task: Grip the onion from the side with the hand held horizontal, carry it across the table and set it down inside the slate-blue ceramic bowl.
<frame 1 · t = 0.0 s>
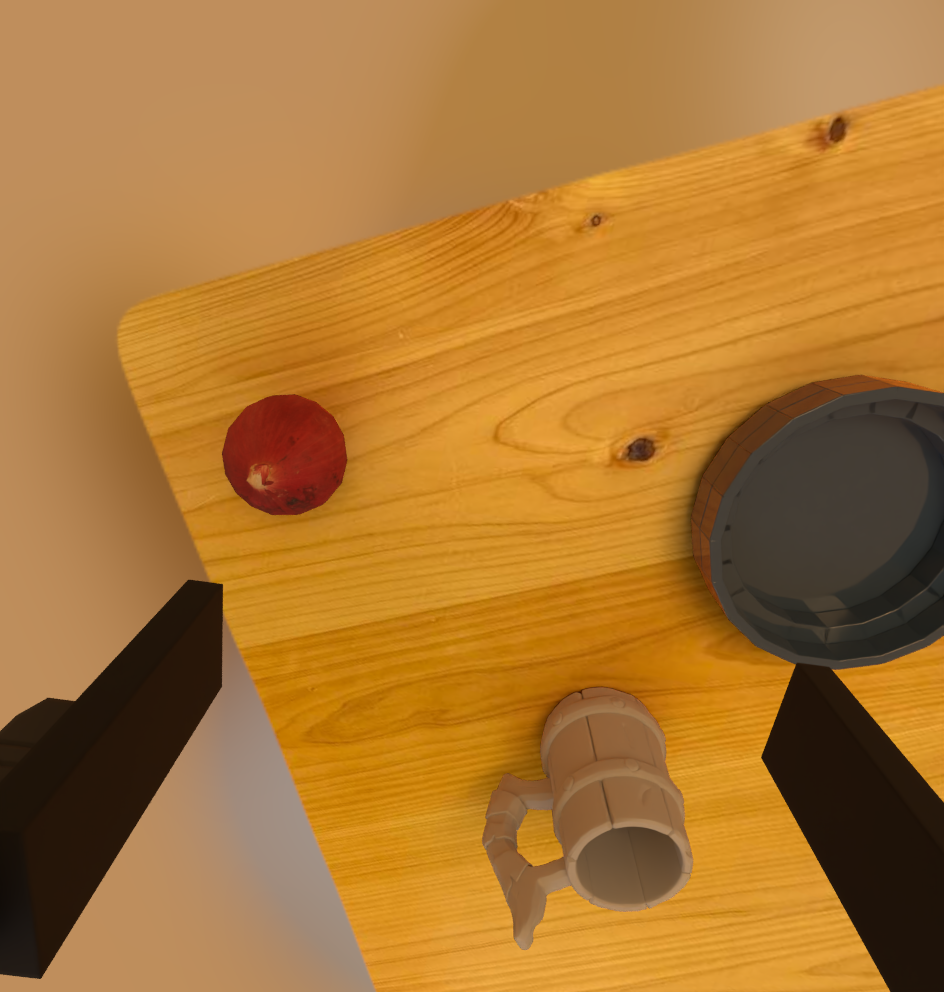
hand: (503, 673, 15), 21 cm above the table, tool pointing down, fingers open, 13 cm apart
mug: (568, 740, 42), on the table
onion: (307, 435, 35), on the table
bowl: (825, 510, 36), on the table
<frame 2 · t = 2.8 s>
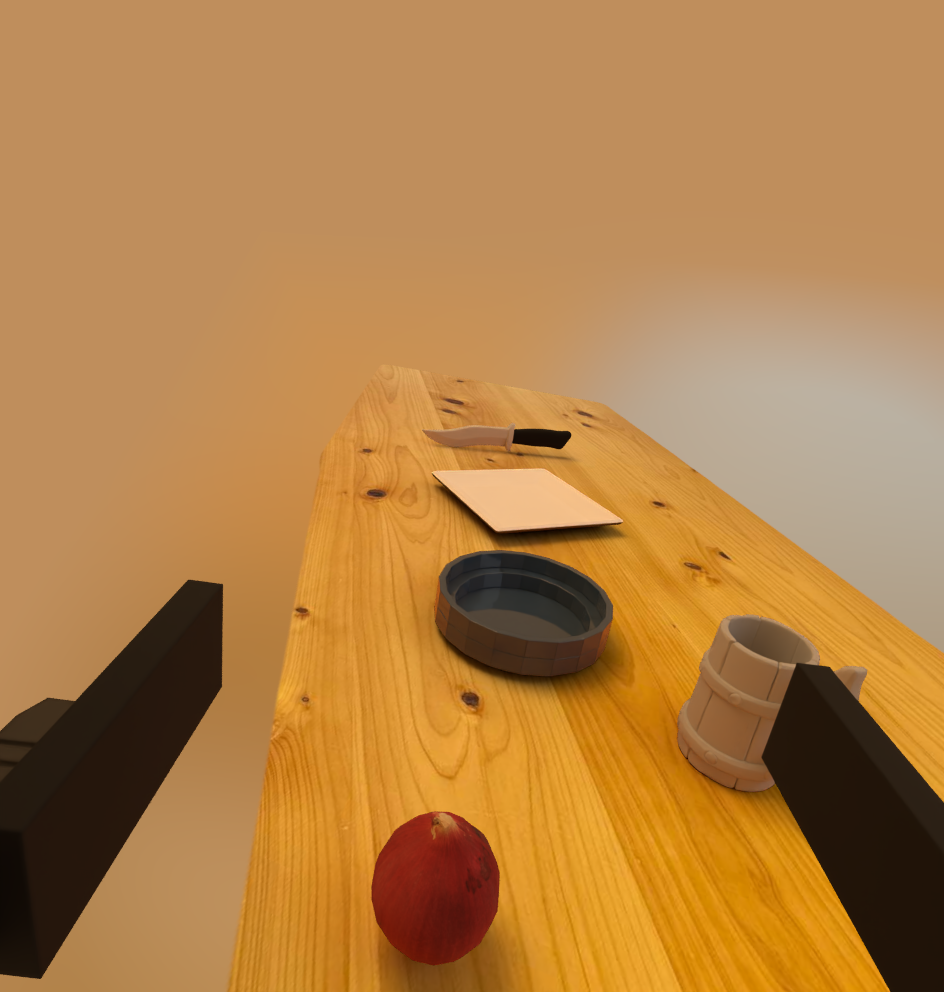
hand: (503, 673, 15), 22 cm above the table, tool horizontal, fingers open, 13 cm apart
plate: (521, 510, 85), on the table
mug: (745, 777, 45), on the table
onion: (425, 942, 31), on the table
bowl: (517, 629, 58), on the table
knife: (494, 452, 107), on the table
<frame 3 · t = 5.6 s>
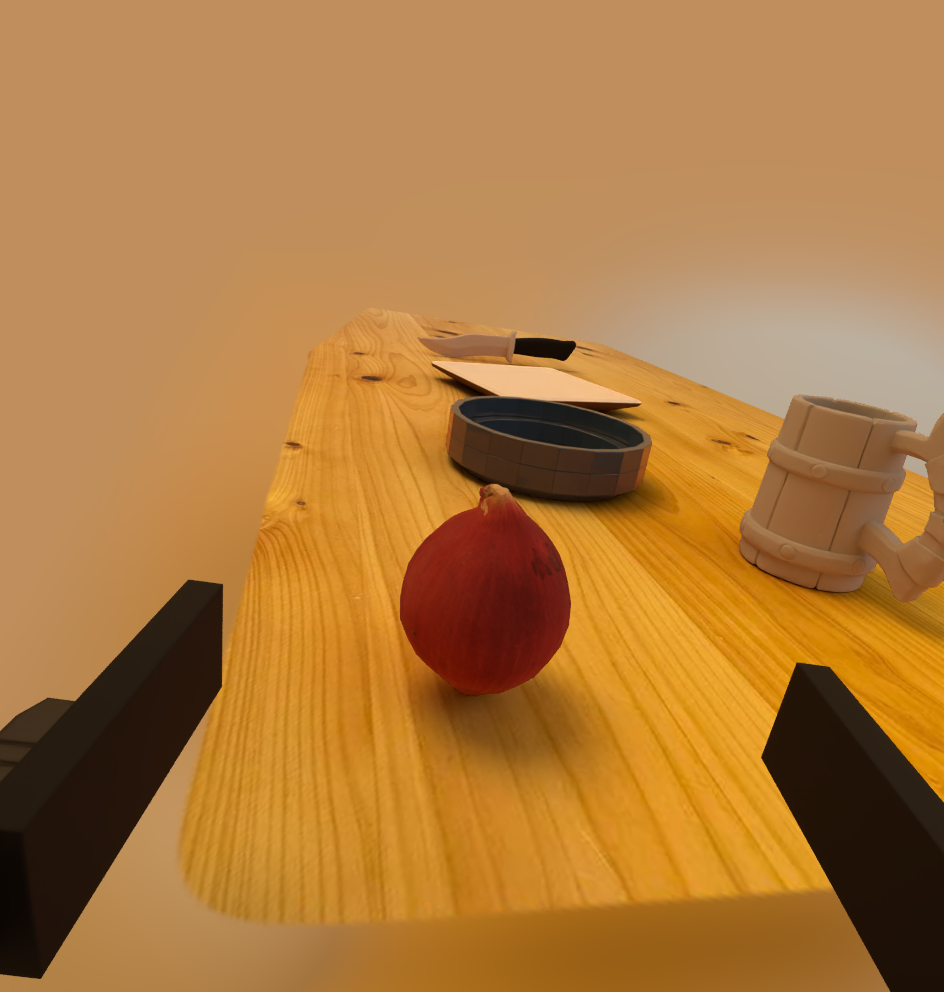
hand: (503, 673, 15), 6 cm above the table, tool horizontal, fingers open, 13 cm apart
plate: (529, 398, 78), on the table
mug: (824, 583, 38), on the table
onion: (469, 694, 24), on the table
bowl: (541, 469, 51), on the table
knife: (495, 363, 101), on the table
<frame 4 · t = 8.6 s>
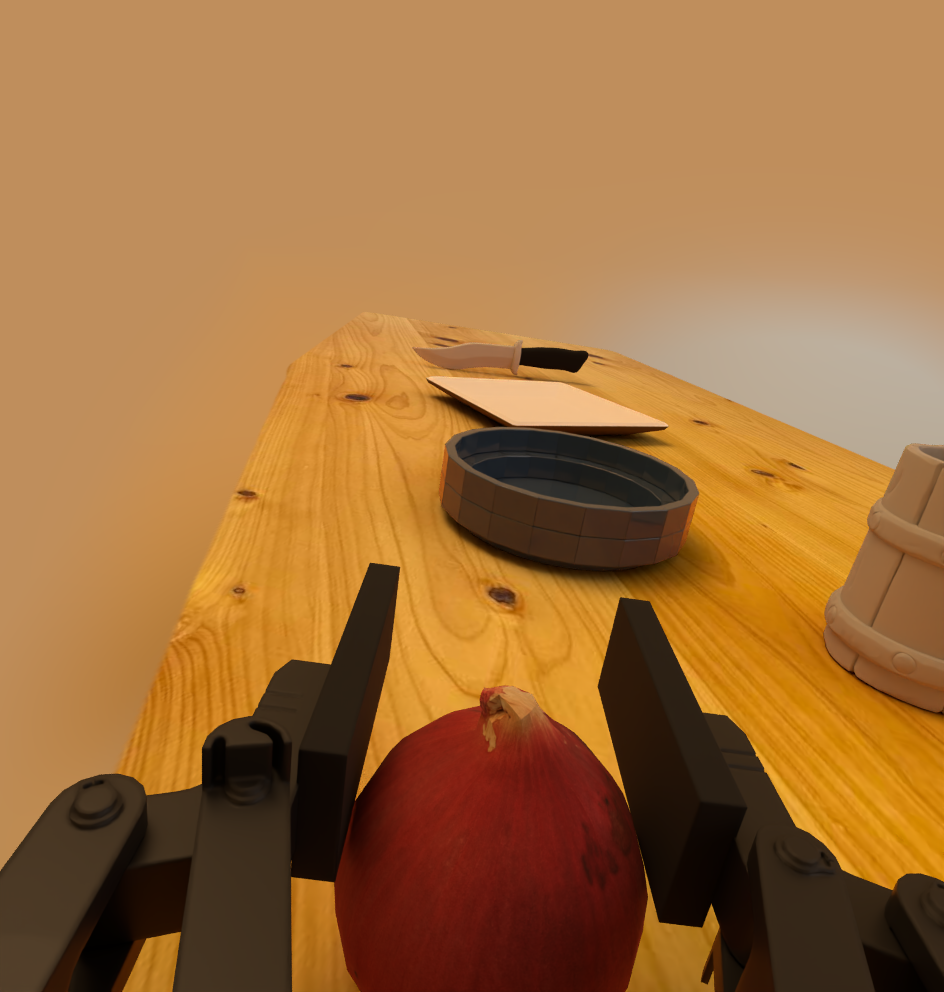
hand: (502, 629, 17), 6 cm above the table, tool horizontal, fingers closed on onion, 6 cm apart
plate: (538, 419, 68), on the table
bowl: (557, 522, 41), on the table
knife: (498, 375, 91), on the table
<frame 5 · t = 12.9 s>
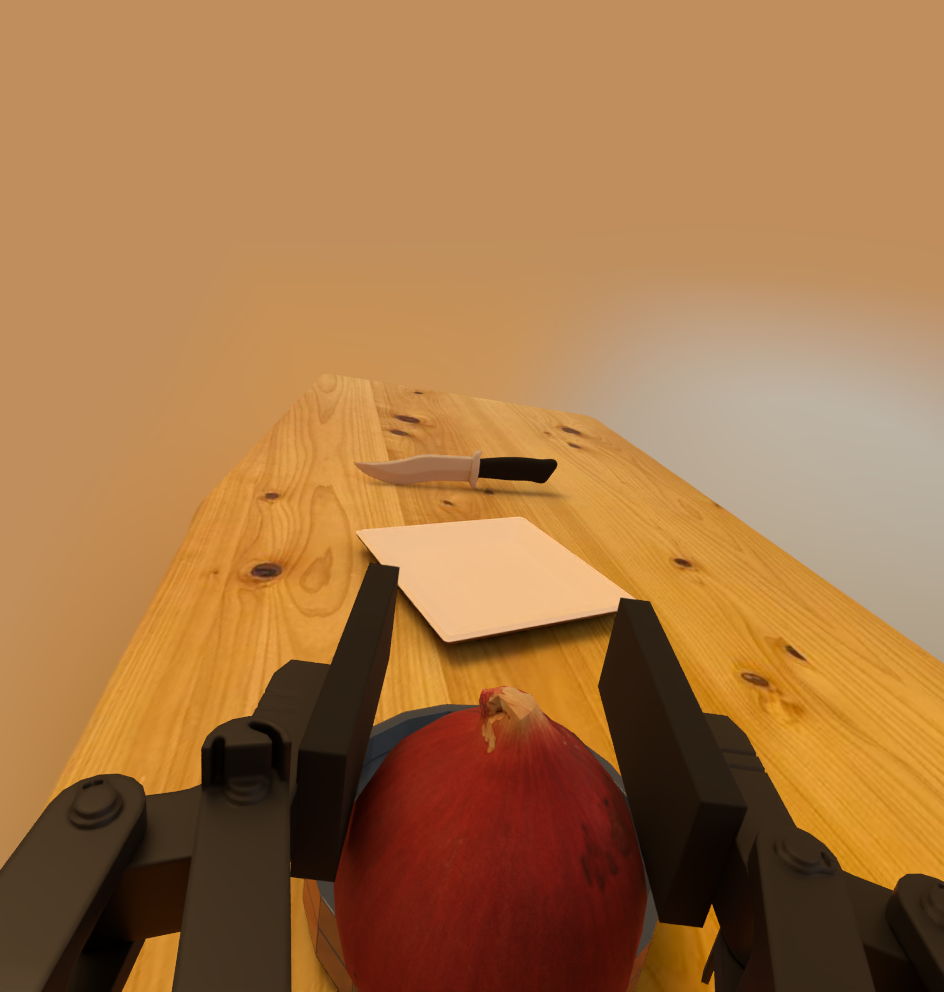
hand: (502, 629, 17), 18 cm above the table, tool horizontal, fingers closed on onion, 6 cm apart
plate: (488, 586, 57), on the table
bowl: (474, 884, 30), on the table
knife: (454, 489, 80), on the table
when the fingers open (7 cm above the table, at t = 17.4 s): onion stays where it is, resting on bowl.
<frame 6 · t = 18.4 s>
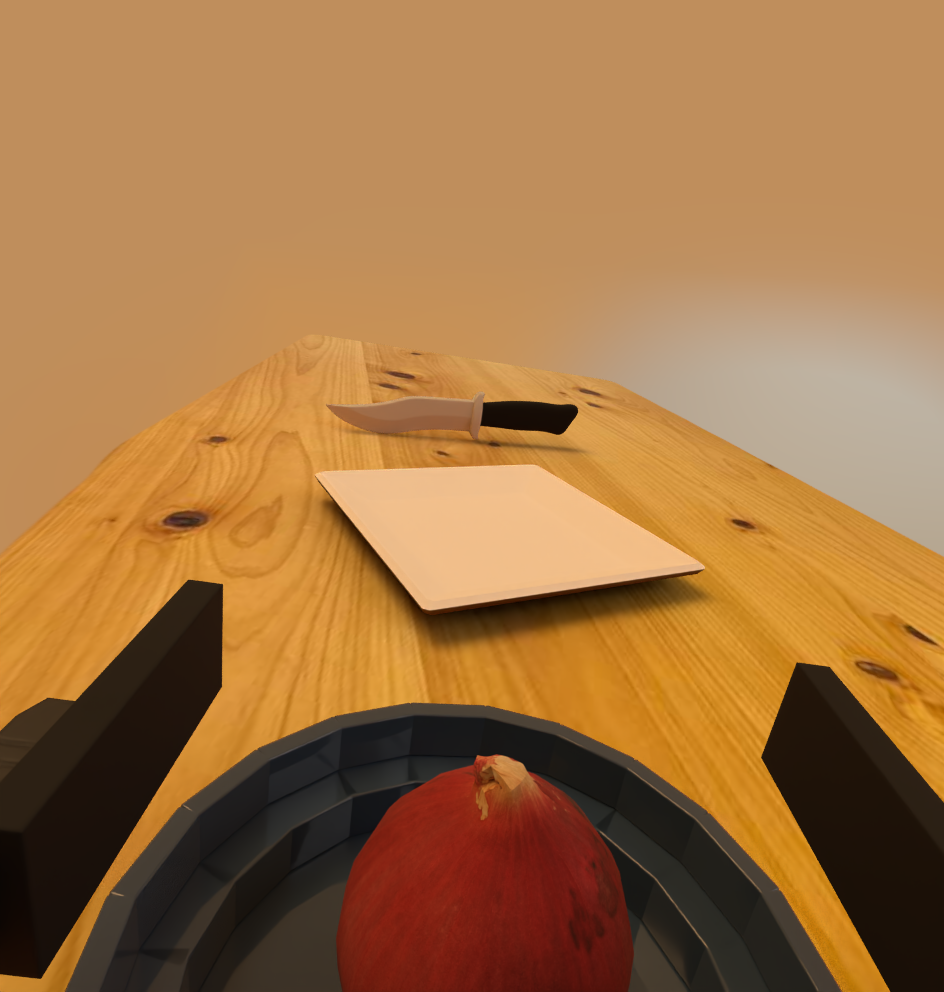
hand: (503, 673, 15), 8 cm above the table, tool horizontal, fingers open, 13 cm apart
plate: (491, 545, 42), on the table
knife: (452, 441, 65), on the table
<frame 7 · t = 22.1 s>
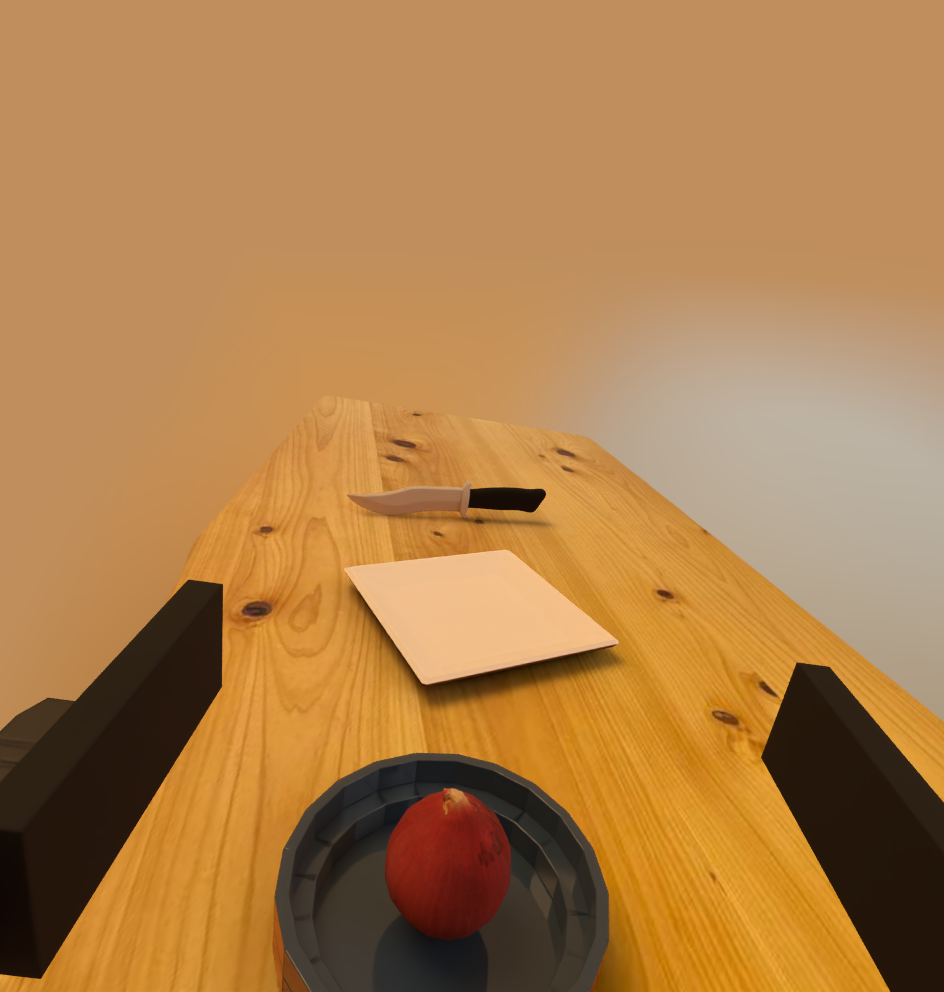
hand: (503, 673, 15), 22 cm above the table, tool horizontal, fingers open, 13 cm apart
plate: (471, 622, 59), on the table
onion: (438, 922, 31), point 1 cm above the table, touching bowl
bowl: (436, 930, 32), on the table
knife: (445, 519, 82), on the table
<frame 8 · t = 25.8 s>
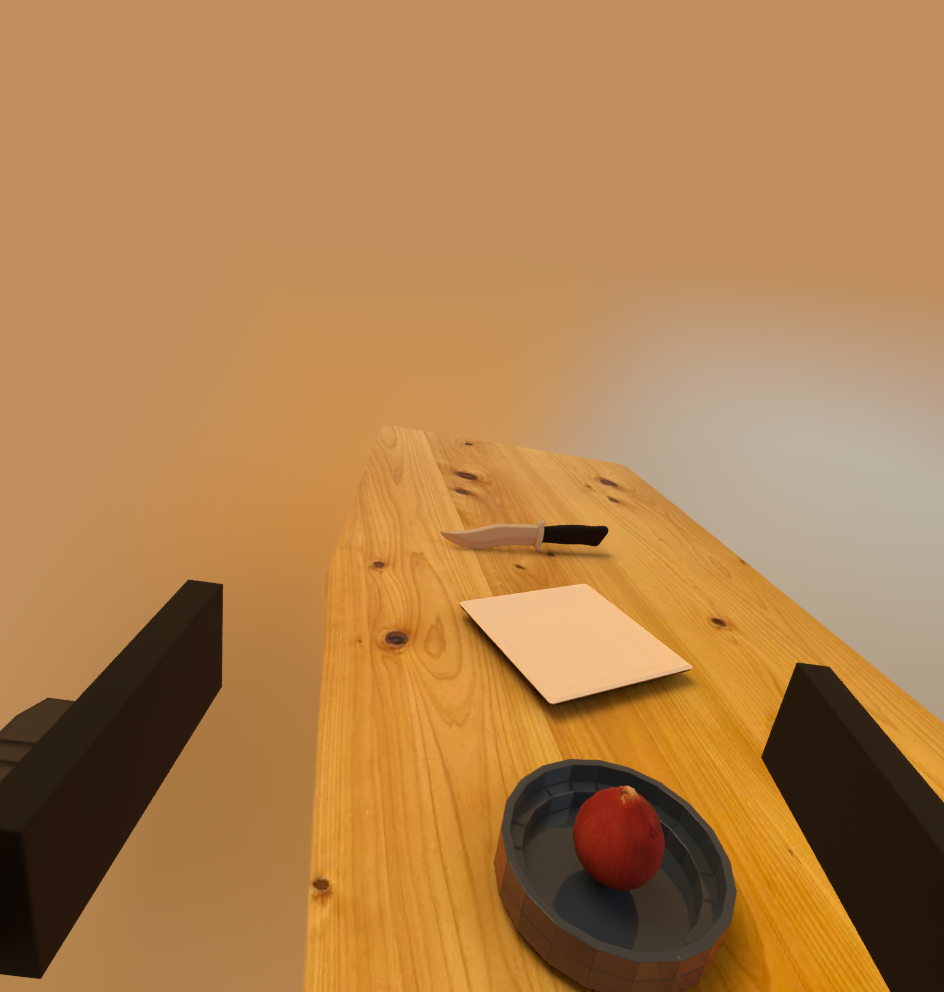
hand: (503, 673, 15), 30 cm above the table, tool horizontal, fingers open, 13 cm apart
plate: (567, 649, 72), on the table
onion: (605, 881, 44), point 1 cm above the table, touching bowl
bowl: (603, 887, 44), on the table
knife: (522, 552, 94), on the table
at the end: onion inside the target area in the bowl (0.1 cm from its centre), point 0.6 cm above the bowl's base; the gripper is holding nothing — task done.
